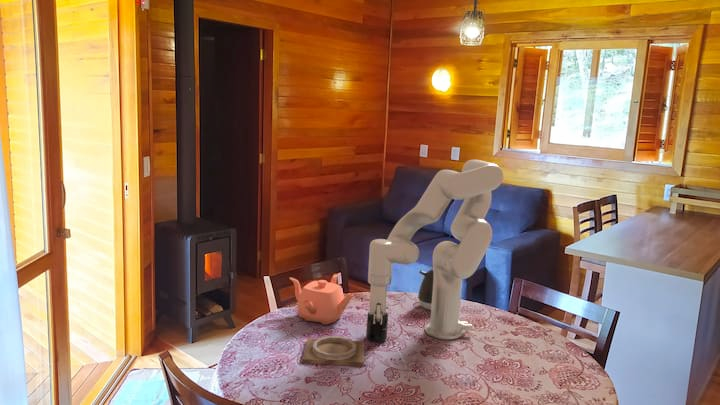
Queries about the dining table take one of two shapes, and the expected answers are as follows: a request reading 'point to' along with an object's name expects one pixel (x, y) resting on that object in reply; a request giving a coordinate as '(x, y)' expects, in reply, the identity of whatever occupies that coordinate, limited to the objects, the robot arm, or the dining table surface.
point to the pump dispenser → (426, 289)
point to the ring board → (334, 351)
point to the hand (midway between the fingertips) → (376, 329)
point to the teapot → (321, 300)
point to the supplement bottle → (369, 328)
